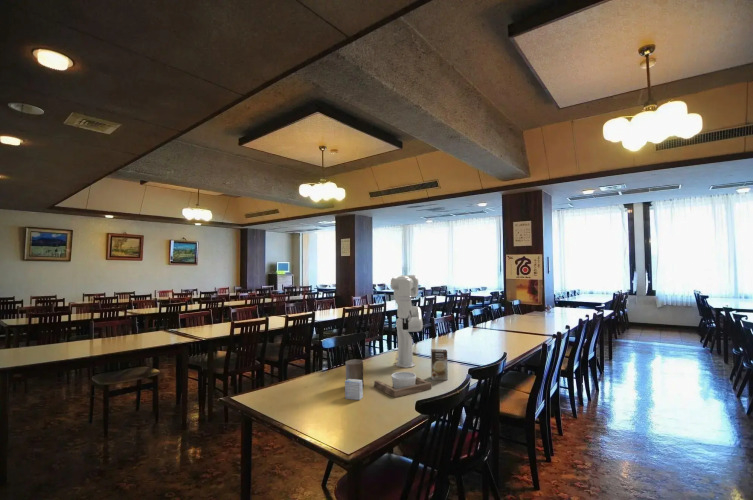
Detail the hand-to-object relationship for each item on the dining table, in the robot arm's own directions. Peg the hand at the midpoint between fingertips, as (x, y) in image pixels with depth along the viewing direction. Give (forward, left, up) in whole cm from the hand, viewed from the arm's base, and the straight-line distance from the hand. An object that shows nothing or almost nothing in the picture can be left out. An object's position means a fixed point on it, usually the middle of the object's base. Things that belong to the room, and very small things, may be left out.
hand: (405, 329), depth 216 cm
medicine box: (+17, -44, -27) cm, 55 cm away
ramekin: (+19, -15, -27) cm, 36 cm away
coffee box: (+16, +12, -27) cm, 34 cm away
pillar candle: (+2, -36, -27) cm, 45 cm away
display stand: (+17, -15, -27) cm, 35 cm away
